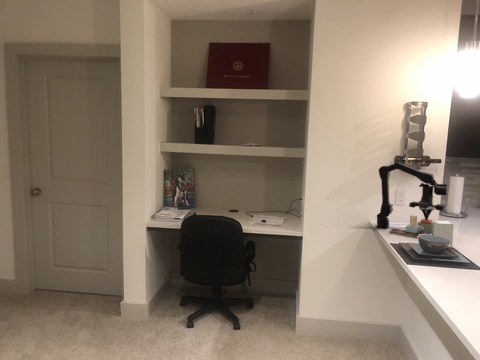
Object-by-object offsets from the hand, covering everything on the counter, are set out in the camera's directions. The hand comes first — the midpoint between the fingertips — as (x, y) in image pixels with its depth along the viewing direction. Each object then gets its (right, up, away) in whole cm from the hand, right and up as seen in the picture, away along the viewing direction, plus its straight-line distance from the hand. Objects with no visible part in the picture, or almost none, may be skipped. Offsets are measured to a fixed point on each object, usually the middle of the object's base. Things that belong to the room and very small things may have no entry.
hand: (426, 219), depth 222 cm
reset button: (0, -6, +1) cm, 6 cm away
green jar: (0, -8, +1) cm, 8 cm away
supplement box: (-4, -11, -25) cm, 28 cm away
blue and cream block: (-11, -6, -6) cm, 13 cm away
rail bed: (-13, -8, -3) cm, 16 cm away
